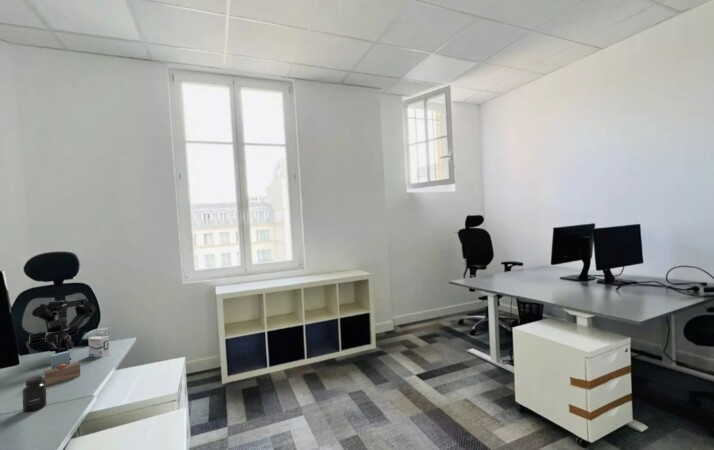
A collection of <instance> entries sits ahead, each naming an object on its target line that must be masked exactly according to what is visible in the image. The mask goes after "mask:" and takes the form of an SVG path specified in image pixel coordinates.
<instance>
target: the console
mask: <svg viewBox="0 0 714 450" xmlns="http://www.w3.org/2000/svg"><path fill="white" fill-rule="evenodd" d="M43 372H44V377H42V378H43V383H45V384H46V387H48V386H51V385H55V384H59V383H61V382H65V381H68V380H72V379H75V378H78V377H81V363H80V362H79V361H75V362H73V363H70V364H69V365H66V364H61V365H59V367H58V368H54V369H51V368H50V369H47V370H45V371H43Z"/></svg>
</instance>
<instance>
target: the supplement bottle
mask: <svg viewBox="0 0 714 450" xmlns="http://www.w3.org/2000/svg"><path fill="white" fill-rule="evenodd" d="M43 378H44V377H43V376H42V375H38V376H32V377H29V378H27V379H26V380H25V387H24V388H23V389H22V412H24V413H33V412H36V411H39V410H41V409H43V408H44V407H46V405H47V386H46V384H45V383H44V380H43Z"/></svg>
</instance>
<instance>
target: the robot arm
mask: <svg viewBox="0 0 714 450" xmlns="http://www.w3.org/2000/svg"><path fill="white" fill-rule="evenodd" d="M73 307H74V311H75V314H76V315H75V316H74V317H73V319H72V320H71V321H70V322H69V323H68V320H67V316H66V317H61V315H59V313H58V312H64V311H66V310H68V309H69V308H73ZM96 310H97V308H96V306H95V305H94V303H93V302H91V301H88V299H87V298H85V297H83V298H82V297H81V298H75V299H70V300H53V301H49V302H48V304H45V303H42V304H40V305H39V306H37V307H35V308H34V309H33V310H32V312H31V314H32V316H33V317H35V318H36V319H38V320H40V321H44V325H45V331H46V332H45V333H43V334H41V331H39V332H35V333H29V336H28V344H29V345H34V344H38V343H40V342H41V340H42V339H45V340H44V341H45V342H44V343H47V347H48V349H49V350H48V351H49V352H50V353H53V352H54V354H57V353H61V352H65V351H69V352H70V350H72V349H74V345H75V343H74V342H73V341H72V336H74V335H78V334H79V330H80V326H81V325H82V323H83V322H84V321H85V320H86V319H89V318H90V317H92V316H93V315H94V314H95V313H96ZM67 323H68V324H67ZM66 324H67V325H66ZM63 325H66V327H65V328H64V329H63ZM71 360H72V358H71V357H70V361H71Z"/></svg>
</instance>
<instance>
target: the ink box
mask: <svg viewBox="0 0 714 450" xmlns="http://www.w3.org/2000/svg"><path fill="white" fill-rule="evenodd" d="M87 340H88V357H89V358H103V357H104V358H105V357H110V356H111V355H110V336H109V330H108V329H96V330H95V335H93V336H90V337H89V338H88V339H87Z"/></svg>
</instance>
